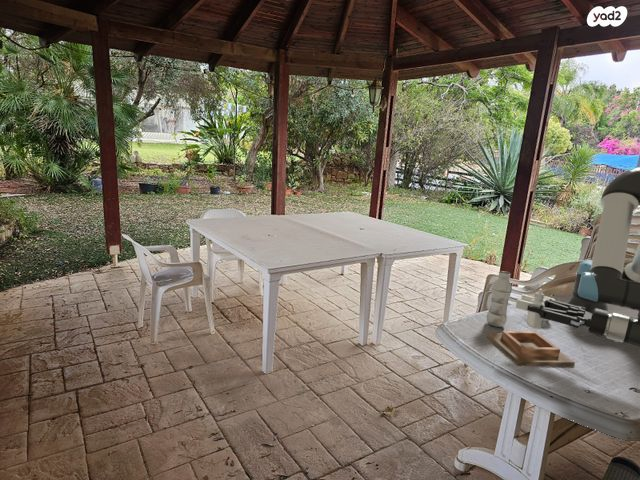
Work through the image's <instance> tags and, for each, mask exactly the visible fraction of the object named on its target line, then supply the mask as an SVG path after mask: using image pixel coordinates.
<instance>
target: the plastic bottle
mask: <svg viewBox="0 0 640 480" xmlns="http://www.w3.org/2000/svg"><path fill="white" fill-rule="evenodd" d="M497 277H498V278H497V279H495V281H493V283H492V284H491V298H490V299H491V300H490V306H489V309H488V312H487V314H486V318H485V319H486V322H487V324H488V325H490V326H493V327H495V328H496V327H497V328H502V327H504V326H505V325H506V323H507V320H508V317H507V310H508V305H509V304H508V303H509V300H510V296H511V293H512V291H513V286H512V284H511V281H510V279H511V273H510V272H509V271H505V270H504V271H503V270H500V271H498V275H497Z"/></svg>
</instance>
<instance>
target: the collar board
mask: <svg viewBox="0 0 640 480" xmlns="http://www.w3.org/2000/svg"><path fill="white" fill-rule="evenodd" d="M486 337H487V339H488V340H490V341H491V342H492V343H493V344H494V345H495V346H496V347H498V349H500V351H501V352H503V353H504V354H505V355H506V356H507V357H508V358H509V359H510V360H511V361H513V362H514V363H515V364H516V365H517V366H518V367H519V366H521V367H522V366H523V367H524V366H525V367H528V366H530V367H531V366H532V367H533V366H534V367H540V366H541V367H542V366H543V367H547V366H548V367H574V366H575V363H576V362H575V361H574V360H573V359H571V358H569V356H568V355H566V354H564V353H563V352H562V351H561V348H559V347H558V346H556V345H555V344H554V343H553V342H551V341H549V340H548V339H547V338H546V337H544V336H543V335H542V334H540V333H538V332H537V331H535V330H534V331H532V330H530V331H527V330H522V331H521V330H515V331H514V330H502V331H501V333H487V335H486Z"/></svg>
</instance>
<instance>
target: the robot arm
mask: <svg viewBox="0 0 640 480" xmlns="http://www.w3.org/2000/svg"><path fill="white" fill-rule="evenodd" d="M600 206H601V208H602V212H601V216H600V221H599V222H600V223H599V227H598V232H597V236H596V242H595V246H594V252H593V255H592V259H587V260H583V261H581V262H580V263H579V265H578V267H577V271H576V276H575V282H574V284H573V289H572V293H571V296H570V298H569V299H568V301H567V302H563V301H559V300H556V299H555V300H552V299H549V300H543V302H544V304H545V307H543V304H541V305H539V304H535V303H531V300H532V299H534V297H535V296H530V295H526V294H524V293H522V295H521V298H517V300H516V305H515V309H518V310H522V311H527V312H528V311H529V312H533V313H536V314H539V315H540V317H541V318H544V319H548V320H547V321H552V322H556V323H559V324H562V325H566V326H569V327H572V328H575V329H579V327H580V326H581V327H588V329H587V330H588V331H587V332H588V333H589V334H590V335H595V336H598V337H604V336H605V338H606V339H608V340H612V341H613V342H614V343H619V342H620V343H623V344H626V345H630V346H633V347H636V348H640V240H639V241H638V244H637V248H636V250H635V253H634V257H633V260H632V262H630V263H628V264H627V265H625V261H626V254H627V250H628V243H629V239H630V233H631V226H632V220H633V216H634V215H633V214H634V211H635V210H637V209H638V207H639V206H640V167H635V168H631V169H629V170H627V171H624V172H623V173H620V174H619V175H617V176H615V178H613V179H612V180H611V181H610V182H609V183H608V185H606V187H605V189H604V190H603V192H602V194H601V198H600ZM624 266H625V267H624ZM608 305H612V306H617V307H621V308H624V309H629V310H634V311H638V313H637V317H633V316H629V315H626V314H621V313H618V312H614V311H613V312H611V313H610V312H609V309H608Z"/></svg>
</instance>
